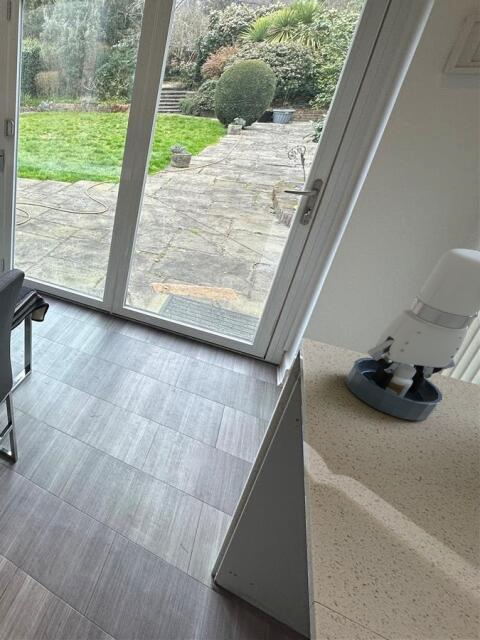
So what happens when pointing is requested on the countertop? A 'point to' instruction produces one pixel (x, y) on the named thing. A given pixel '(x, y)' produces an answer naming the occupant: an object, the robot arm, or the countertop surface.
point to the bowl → (403, 407)
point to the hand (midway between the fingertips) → (392, 385)
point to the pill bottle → (401, 380)
